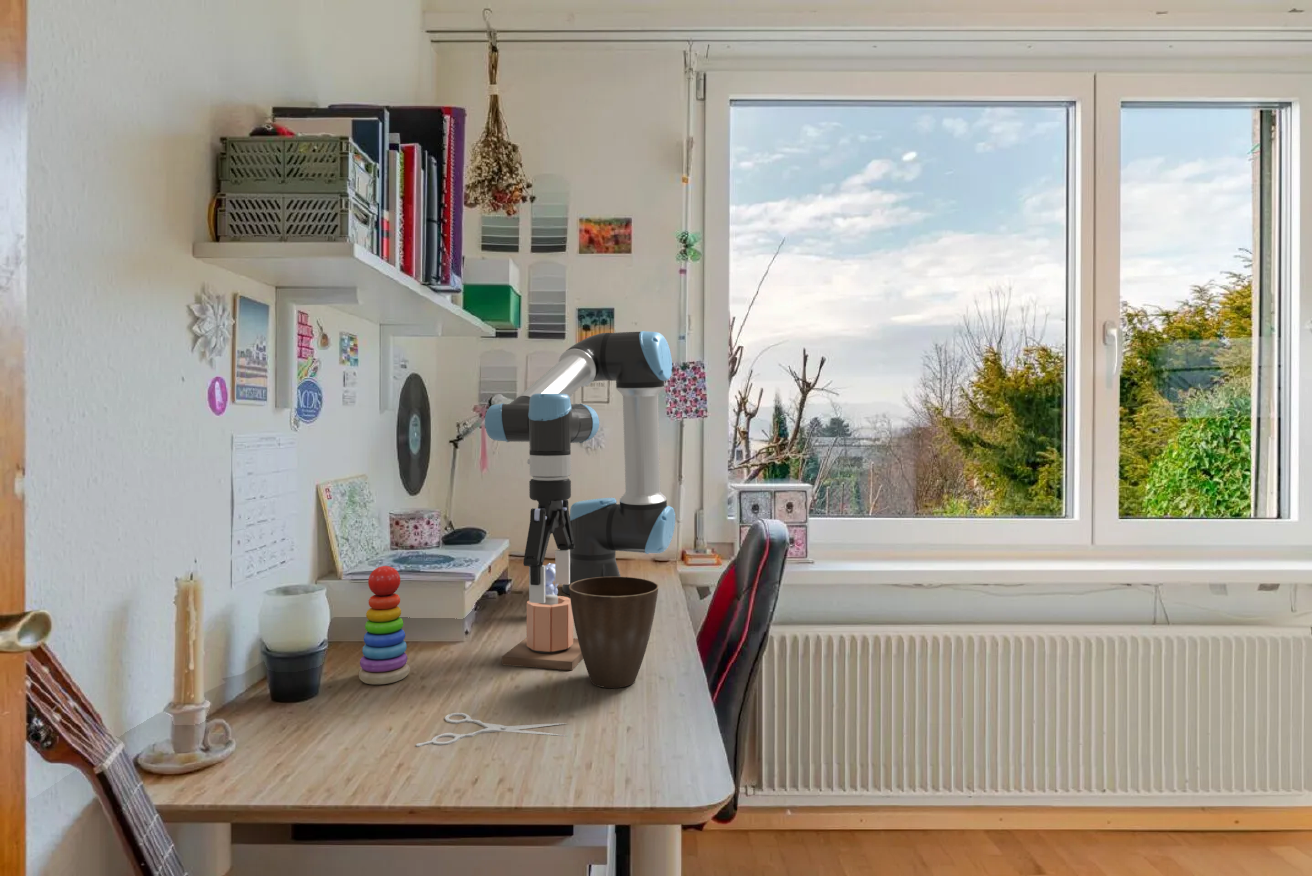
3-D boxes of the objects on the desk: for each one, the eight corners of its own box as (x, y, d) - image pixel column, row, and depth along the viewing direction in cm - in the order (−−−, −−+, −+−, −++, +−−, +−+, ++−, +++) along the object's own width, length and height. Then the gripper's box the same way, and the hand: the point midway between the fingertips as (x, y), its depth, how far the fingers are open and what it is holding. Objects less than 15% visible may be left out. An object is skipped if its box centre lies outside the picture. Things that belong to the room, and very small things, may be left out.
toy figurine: (533, 612, 165) (533, 559, 165) (562, 612, 165) (562, 559, 165) (528, 620, 158) (528, 565, 158) (557, 620, 158) (558, 565, 158)
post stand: (529, 642, 143) (529, 586, 143) (593, 647, 140) (593, 590, 140) (502, 664, 130) (502, 602, 130) (572, 670, 128) (572, 607, 127)
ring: (537, 636, 140) (537, 594, 140) (577, 639, 138) (577, 597, 138) (521, 649, 132) (521, 605, 132) (563, 652, 130) (563, 607, 130)
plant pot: (573, 664, 130) (573, 575, 130) (657, 665, 130) (657, 575, 130) (563, 696, 115) (564, 596, 115) (658, 697, 116) (659, 596, 115)
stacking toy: (418, 677, 123) (418, 566, 123) (372, 690, 118) (372, 574, 117) (395, 666, 129) (395, 560, 128) (350, 677, 123) (350, 566, 122)
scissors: (437, 712, 108) (573, 711, 109) (437, 717, 108) (573, 716, 109) (415, 745, 98) (565, 743, 98) (415, 751, 98) (565, 749, 98)
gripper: (553, 471, 147) (554, 576, 148) (503, 484, 123) (504, 609, 124) (589, 472, 146) (589, 577, 147) (545, 485, 121) (546, 612, 122)
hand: (550, 592), depth 135 cm, fingers open, 13 cm apart
